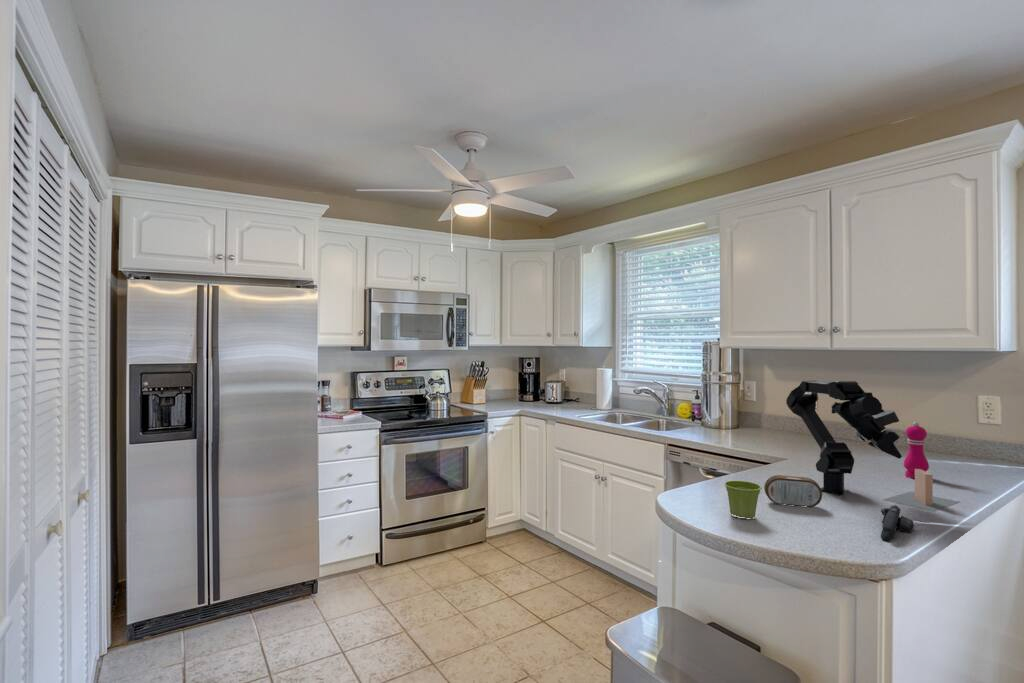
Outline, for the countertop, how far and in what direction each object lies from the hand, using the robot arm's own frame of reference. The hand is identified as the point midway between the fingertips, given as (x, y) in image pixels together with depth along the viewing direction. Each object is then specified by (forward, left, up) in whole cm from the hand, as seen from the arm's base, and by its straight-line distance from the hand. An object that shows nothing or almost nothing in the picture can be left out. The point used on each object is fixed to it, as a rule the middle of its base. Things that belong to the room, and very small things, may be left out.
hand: (899, 457), depth 158 cm
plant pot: (-53, +15, -14) cm, 57 cm away
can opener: (-31, -11, -14) cm, 36 cm away
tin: (-31, +14, -14) cm, 37 cm away
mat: (+5, -4, -14) cm, 15 cm away
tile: (+4, -5, -13) cm, 14 cm away
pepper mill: (+40, +11, -14) cm, 44 cm away
